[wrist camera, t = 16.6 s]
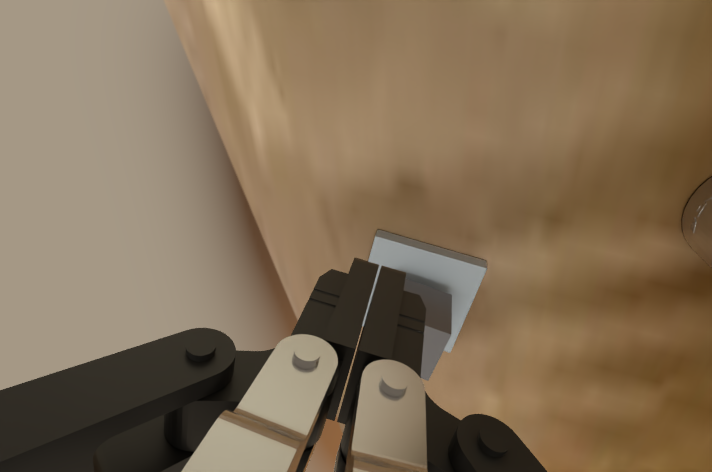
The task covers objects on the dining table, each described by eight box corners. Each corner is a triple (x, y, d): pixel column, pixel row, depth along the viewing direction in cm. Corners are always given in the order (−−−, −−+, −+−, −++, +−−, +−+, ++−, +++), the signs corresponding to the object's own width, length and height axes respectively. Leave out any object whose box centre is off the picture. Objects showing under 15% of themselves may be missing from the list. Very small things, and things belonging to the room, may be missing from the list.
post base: (486, 260, 44) (493, 312, 36) (450, 343, 49) (449, 403, 41) (377, 229, 44) (362, 273, 37) (353, 314, 50) (336, 368, 42)
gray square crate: (452, 294, 42) (451, 334, 37) (431, 337, 45) (428, 380, 40) (396, 275, 43) (387, 312, 37) (378, 319, 45) (368, 359, 40)
